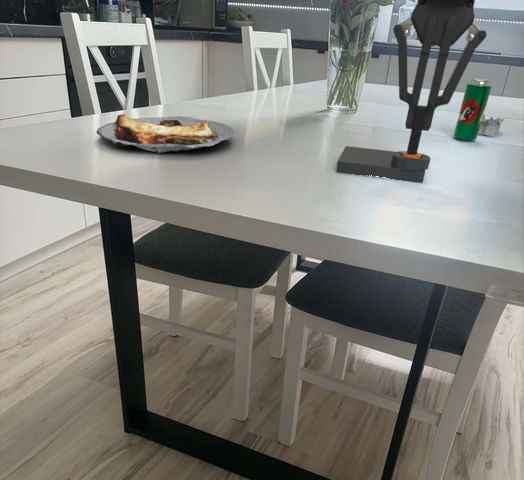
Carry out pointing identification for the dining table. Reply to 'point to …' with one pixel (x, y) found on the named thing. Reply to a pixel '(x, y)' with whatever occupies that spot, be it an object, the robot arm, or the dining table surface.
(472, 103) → the soda can
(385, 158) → the dark grey flat block
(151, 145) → the food plate
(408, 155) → the tare button
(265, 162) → the dining table surface
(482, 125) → the egg carton
